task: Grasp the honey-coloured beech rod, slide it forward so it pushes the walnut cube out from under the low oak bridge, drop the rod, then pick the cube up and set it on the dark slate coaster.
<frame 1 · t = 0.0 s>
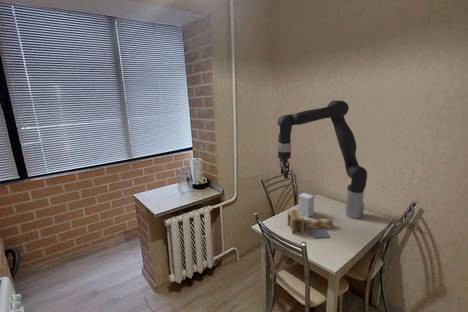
hand: (284, 176, 151), 29 cm above the table, fingers open, 8 cm apart
beech rod: (318, 227, 148), on the table
small box: (305, 214, 165), on the table
walnut block: (295, 228, 148), on the table
oak bridge: (295, 228, 148), on the table
slate coaster: (319, 233, 141), on the table
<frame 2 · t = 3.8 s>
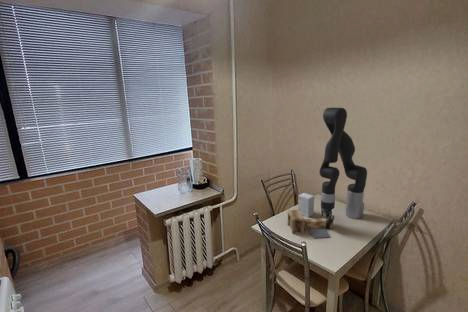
hand: (326, 226, 148), 0 cm above the table, fingers closed on beech rod, 3 cm apart
beech rod: (318, 226, 148), on the table, touching gripper
everything else where it was.
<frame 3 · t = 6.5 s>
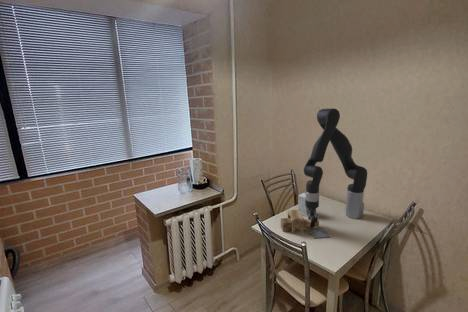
hand: (311, 225, 148), 1 cm above the table, fingers closed on beech rod, 3 cm apart
beech rod: (304, 227, 148), on the table, touching gripper, walnut block
walnut block: (286, 228, 148), on the table, touching beech rod
everything else where it was.
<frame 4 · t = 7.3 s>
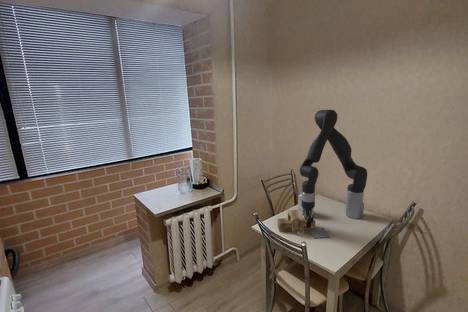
hand: (307, 225, 148), 1 cm above the table, fingers closed on beech rod, 3 cm apart
beech rod: (300, 228, 148), on the table, touching gripper, walnut block
walnut block: (283, 229, 148), on the table, touching beech rod
everything else where it was.
when the fingers open (1 cm above the table, at t = 8.6 s): beech rod drops 2 cm, on the table.
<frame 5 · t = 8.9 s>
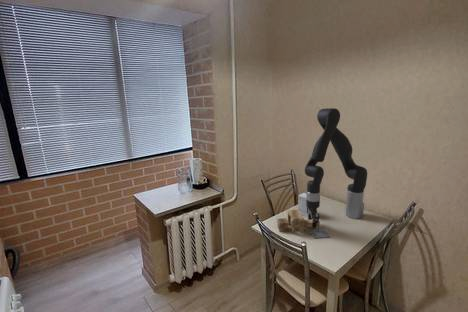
hand: (312, 224, 147), 2 cm above the table, fingers open, 6 cm apart
beech rod: (305, 228, 148), on the table
walnut block: (282, 229, 148), on the table
everything else where it was.
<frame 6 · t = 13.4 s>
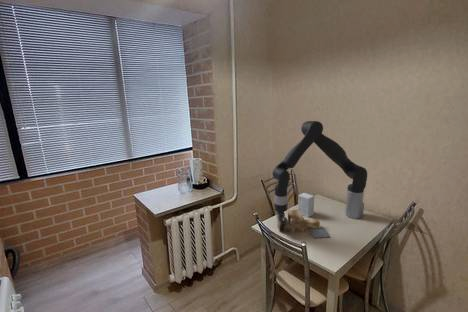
hand: (280, 228, 147), 1 cm above the table, fingers closed on walnut block, 5 cm apart
walnut block: (283, 229, 147), on the table, touching gripper
everything else where it was.
when the fingers open (2 cm above the table, at t = 19.5 s): walnut block stays where it is, resting on slate coaster.
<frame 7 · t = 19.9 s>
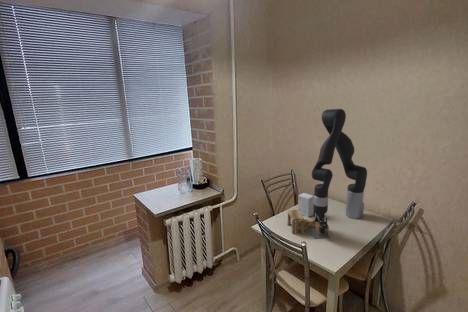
hand: (319, 229, 141), 3 cm above the table, fingers open, 8 cm apart
walnut block: (321, 232, 141), point 1 cm above the table, touching slate coaster
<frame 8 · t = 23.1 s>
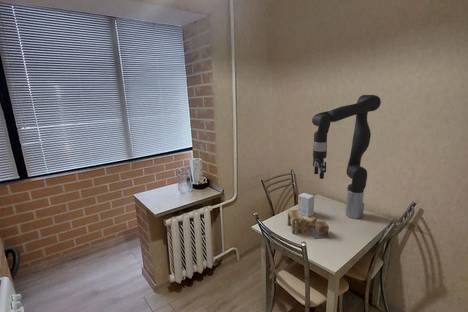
hand: (318, 176, 146), 30 cm above the table, fingers open, 8 cm apart
at the end: walnut block inside the target area on the slate coaster (1.2 cm from its centre), point 0.6 cm above the slate coaster's base; the gripper is holding nothing; walnut block tilted 0° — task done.
